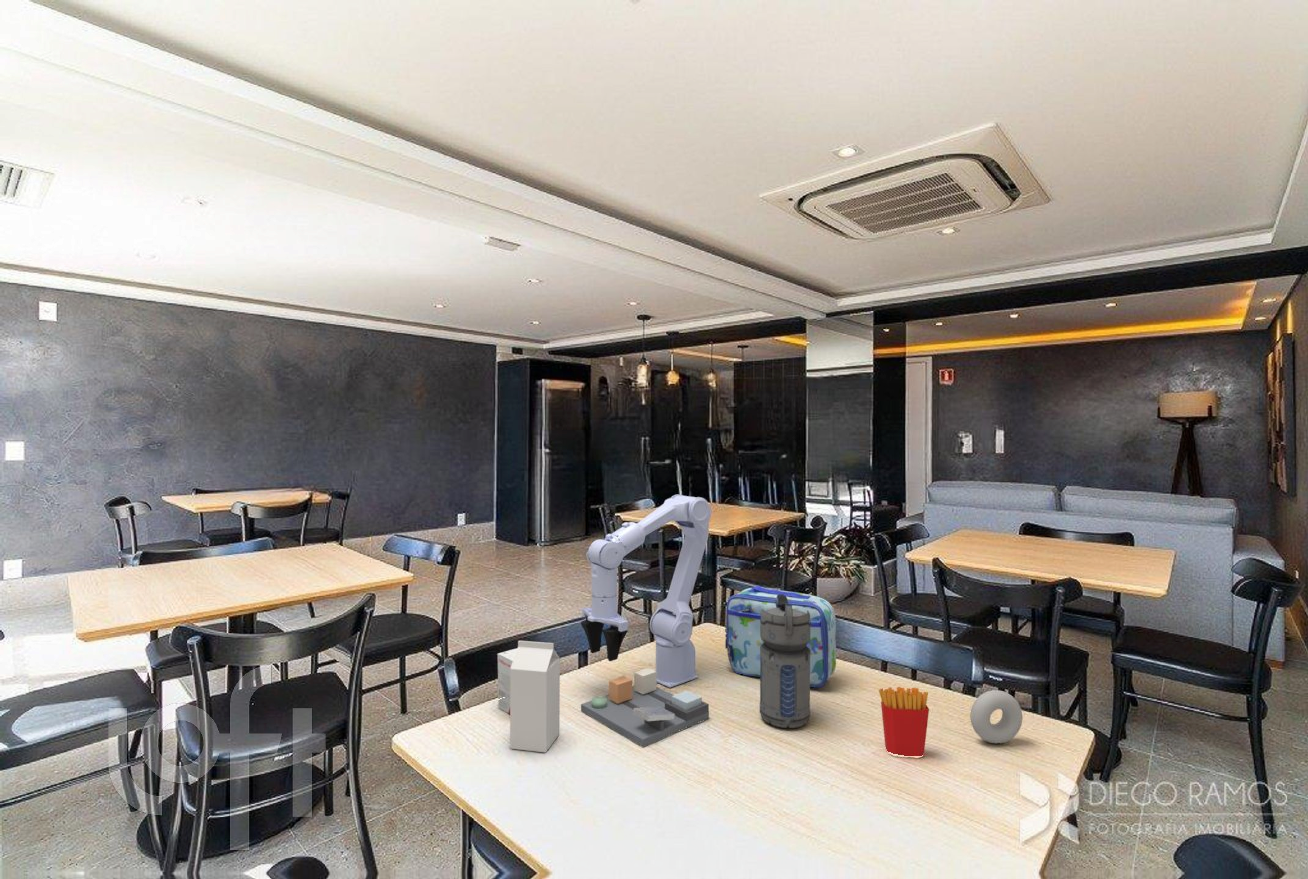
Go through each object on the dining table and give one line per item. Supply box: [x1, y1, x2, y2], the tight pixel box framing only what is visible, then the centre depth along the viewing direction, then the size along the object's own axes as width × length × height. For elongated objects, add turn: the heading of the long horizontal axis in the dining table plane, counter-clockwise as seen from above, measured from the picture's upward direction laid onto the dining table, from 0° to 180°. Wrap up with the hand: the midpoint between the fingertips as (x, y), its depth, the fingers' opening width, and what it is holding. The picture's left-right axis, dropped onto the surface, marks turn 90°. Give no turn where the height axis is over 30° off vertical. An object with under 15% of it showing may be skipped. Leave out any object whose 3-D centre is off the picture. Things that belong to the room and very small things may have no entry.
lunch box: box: [724, 585, 837, 688], centre depth 148 cm, size 26×11×21 cm, turn 58°
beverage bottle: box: [759, 594, 811, 729], centre depth 126 cm, size 10×13×25 cm
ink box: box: [497, 647, 518, 715], centre depth 129 cm, size 9×5×12 cm, turn 44°
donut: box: [969, 689, 1024, 744], centre depth 116 cm, size 10×3×10 cm, turn 96°
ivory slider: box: [633, 667, 658, 694], centre depth 135 cm, size 4×3×4 cm
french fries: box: [878, 686, 930, 756], centre depth 112 cm, size 8×4×12 cm, turn 83°
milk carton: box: [509, 640, 561, 753], centre depth 116 cm, size 7×7×19 cm
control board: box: [580, 685, 710, 748], centre depth 127 cm, size 18×20×3 cm
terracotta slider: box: [608, 675, 633, 704], centre depth 131 cm, size 4×3×4 cm
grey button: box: [672, 689, 703, 711], centre depth 126 cm, size 4×4×2 cm
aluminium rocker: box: [633, 706, 675, 721], centre depth 119 cm, size 7×4×1 cm, turn 132°
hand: (603, 655), depth 135 cm, fingers open, 6 cm apart
